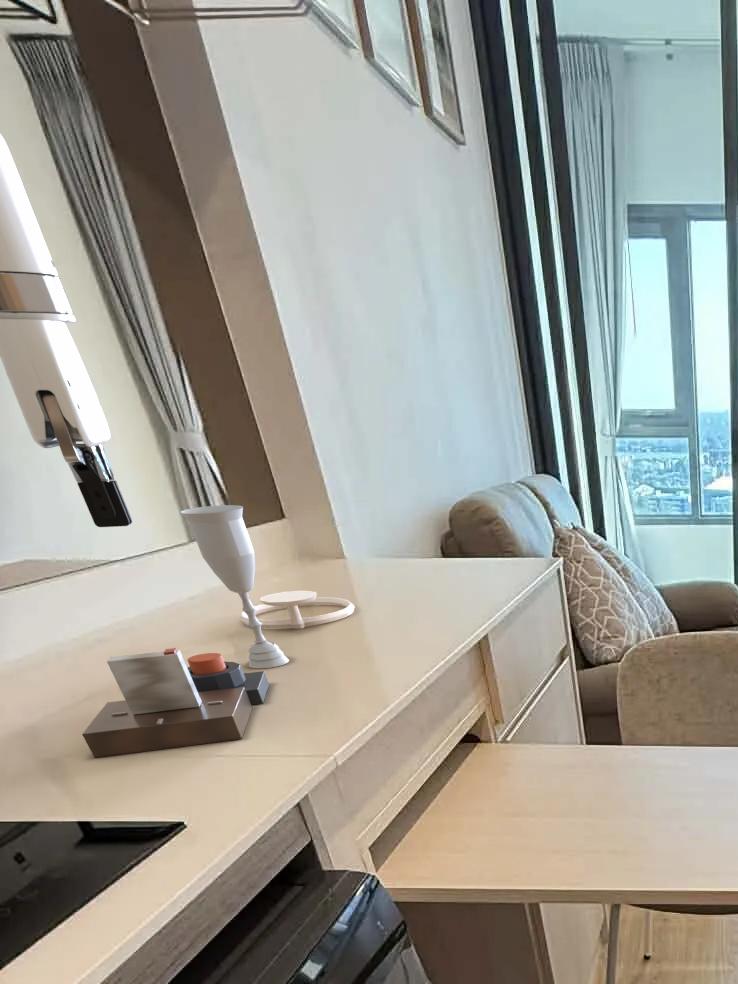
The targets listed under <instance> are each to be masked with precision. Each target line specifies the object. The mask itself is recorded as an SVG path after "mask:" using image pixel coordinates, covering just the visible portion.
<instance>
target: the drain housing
mask: <svg viewBox="0 0 738 984" xmlns="http://www.w3.org/2000/svg"><path fill="white" fill-rule="evenodd" d="M224 663H225V665H226V668H227V669H226V670H224V671H220V672H216V673H212V674H202V675H196V674H193V672H192V670H191V668H190V666H187V668H188V671H189V673H190V675H191V678H192V680H193V682H194V685H195V687H196V689H197V692H204V691H213V690H222V689H230V688H239V687H244V688H245V690H246V693H247V695H248V698H249V700H250V703H251V706H253V705H254V706H255V705H263V704H264V702H265V699H266V696H267V693H268V689H269V687H270V683H269V680H268V677H267V675H266V672H265V670H262V671H254V672H253V671H252V672H244V671H243V668H242V666H241V663H237V662H235V661H224Z"/></svg>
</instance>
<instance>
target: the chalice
mask: <svg viewBox="0 0 738 984" xmlns="http://www.w3.org/2000/svg"><path fill="white" fill-rule="evenodd" d="M243 511H244V506H243V505H237V504H227V505H226V504H223V505H209V506H208V505H207V506H200V507H198V506H197V507H192V508H188V509H183V510H181V511H180V514H181V515H182V516H183V517H184V518H185V519H186V521H187V522H188V523H189V525H190V528H191V530H192V533H193V536H194V538H195V541H196V543H197V547H198V549H199V551H200V554H201V556H202V558H203V560H204V561H205V562H206V564H207V565H208V567H209V568H210V569H211V571H212V572H213V574H215V576H216V577H218V579H219V581H221V583H223V585H224V586H225V587H226V588H227V589H228V590H229V591H230V592H233V593H236V594H238V596H239V597H240V599H241V602H242V612H243V611H244V612H245V613H246V614H247V616H248V617H249V624H248V625H247V627H249V628H250V629H251V631H252V632H253V634H254V638H255V640H254V644H252V645H250V647H249V650H248V653H249V654H248V659H249V661H248V668H251V669H271V668H275V667H280V666H283V665H285V664H288V663H289V662H290V659H289V658H288V657H287V656H286V655H285V654H284V652H283V651H282V650H281V649H280V647H279V645H277V644H276V643H274V642H269V641H268V639H267V638H265V637H264V635H263V632H262V628H261V625H262V623H260V622H259V621H258V620H259V619H258V618H257V616H256V615H255V609H256V608H255V607H254V606H255V605H253V603H252V601H251V600H250V596H249V592H250V591H252V590H253V589H254V584H255V573H256V564H255V563H256V561H255V559H256V558H255V549H254V547H253V544H252V541H251V538H250V535H249V533H248V529H247V527H246V524H245V520H244V519H243V513H244V512H243ZM257 619H258V620H257Z"/></svg>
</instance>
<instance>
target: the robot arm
mask: <svg viewBox="0 0 738 984" xmlns="http://www.w3.org/2000/svg"><path fill="white" fill-rule="evenodd" d="M50 253H51V252H50V251H49V248H48V245H47V244H46V241H45V239H44V235H43V233H42V230H41V228H40V225H39V222H38V220H37V217H36V215H35V213H34V209H33V208H32V205H31V203H30V200H29V197H28V195H27V193H26V190H25V187H24V184H23V181H22V179H21V176H20V174H19V172H18V169H17V166H16V163H15V161H14V159H13V156H12V154H11V152H10V148H9V146H8V144H7V142H6V140H5V138H4V136H3V135H2V134H1V133H0V360H1V363H2V366H3V368H4V370H5V373H6V376H7V379H8V381H9V383H10V387H11V388H12V391H13V394H14V396H15V398H16V402H17V404H18V406H19V408H20V411H21V413H22V416H23V418H24V421H25V423H26V426H27V428H28V431H29V433H30V435H31V437H32V439H33V441H34V442H35V444H37V446H40V447H41V448H42V449H52V448H55V447H59V449H60V452H61V455H62V457H63V460H64V461H65V462H66V463H67V465H68V467H69V469H70V471H71V473H72V475H73V477H74V479H75V481H76V484H77V487H78V488H79V491H80V494H81V495H82V498H83V501H84V503H85V505H86V506H87V510H88V512H89V514H90V516H91V520H92V521H93V524H94V525H95V526H96V527H97V528H115V527H128V526H130V525H132V523H133V519H132V517H131V514H130V512H129V509H128V507H127V504H126V502H125V499H124V497H123V495H122V492H121V490H120V486H119V485H118V482H117V480H115V475H114V472H113V469H112V467H111V464H110V461H109V459H108V455H107V453H106V450H105V448H104V446H103V445H105V444H106V443H108V441H110V440H111V431H110V427H109V424H108V421H107V419H106V416H105V414H104V411H103V408H102V405H101V403H100V400H99V398H98V394H97V392H96V390H95V388H94V386H93V383H92V381H91V378H90V376H89V374H88V371H87V368H86V366H85V364H84V362H83V359H82V358H81V357H82V356H81V355H80V353H79V350H78V347H77V346H76V344H75V341H74V339H73V337H72V335H71V333H70V331H69V328H68V326H67V324H69V323H77V320H76V317H75V315H74V312H73V310H72V307H71V304H70V301H69V299H68V296H67V294H66V291H65V288H64V286H63V283H62V281H61V279H60V277H59V274H58V271H57V268H56V267H55V264H54V261H53V258H52V256H51V254H50ZM79 442H80V443H79ZM81 442H83V443H81Z"/></svg>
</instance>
